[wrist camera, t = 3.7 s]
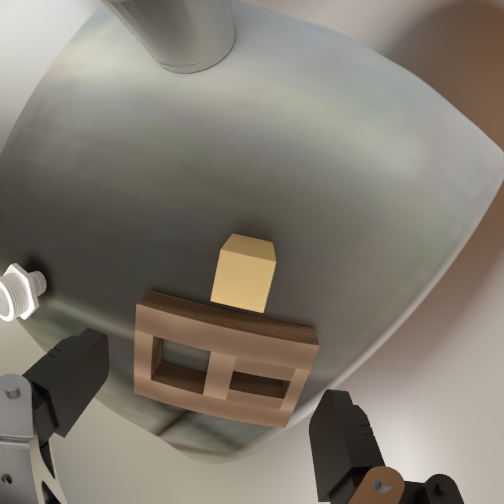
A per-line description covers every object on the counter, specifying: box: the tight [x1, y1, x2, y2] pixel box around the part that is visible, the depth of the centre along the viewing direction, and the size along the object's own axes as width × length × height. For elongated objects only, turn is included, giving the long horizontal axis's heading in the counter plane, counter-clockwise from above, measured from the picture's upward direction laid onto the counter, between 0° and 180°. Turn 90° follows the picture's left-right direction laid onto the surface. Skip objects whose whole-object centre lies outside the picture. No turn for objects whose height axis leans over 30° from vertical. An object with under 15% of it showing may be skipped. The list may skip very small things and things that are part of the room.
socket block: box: [134, 290, 320, 428], centre depth 29 cm, size 12×18×4 cm, turn 77°
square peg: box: [211, 233, 276, 313], centre depth 24 cm, size 4×4×8 cm
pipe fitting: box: [0, 263, 47, 321], centre depth 26 cm, size 6×7×8 cm
